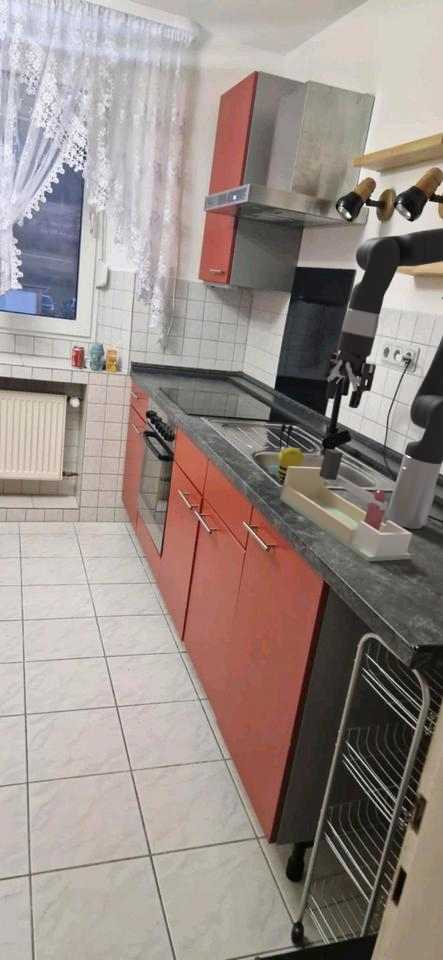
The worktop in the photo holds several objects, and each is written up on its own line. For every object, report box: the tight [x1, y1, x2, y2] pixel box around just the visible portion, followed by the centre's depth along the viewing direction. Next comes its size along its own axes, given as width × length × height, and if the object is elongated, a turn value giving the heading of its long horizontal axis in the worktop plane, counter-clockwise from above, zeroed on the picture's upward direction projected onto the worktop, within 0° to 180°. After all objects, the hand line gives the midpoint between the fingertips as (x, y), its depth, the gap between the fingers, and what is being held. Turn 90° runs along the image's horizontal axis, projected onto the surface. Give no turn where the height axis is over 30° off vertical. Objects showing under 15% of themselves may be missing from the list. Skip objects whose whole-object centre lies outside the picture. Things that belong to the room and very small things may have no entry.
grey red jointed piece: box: [319, 448, 389, 531], centre depth 139 cm, size 6×18×15 cm, turn 27°
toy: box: [268, 423, 304, 483], centre depth 171 cm, size 6×14×15 cm
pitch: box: [279, 466, 413, 562], centre depth 143 cm, size 12×34×9 cm, turn 28°
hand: (341, 403), depth 143 cm, fingers open, 8 cm apart
